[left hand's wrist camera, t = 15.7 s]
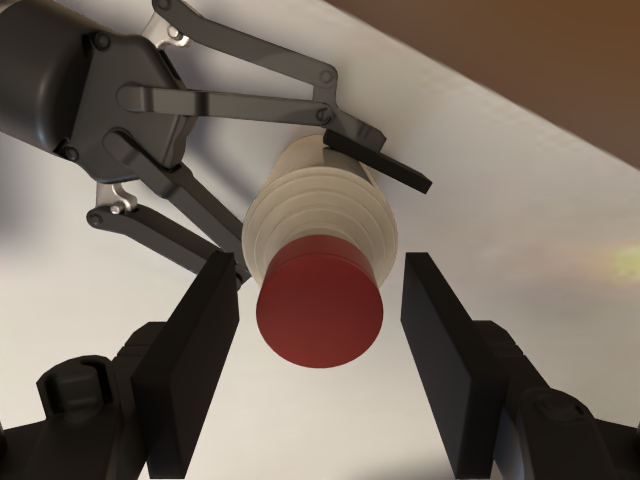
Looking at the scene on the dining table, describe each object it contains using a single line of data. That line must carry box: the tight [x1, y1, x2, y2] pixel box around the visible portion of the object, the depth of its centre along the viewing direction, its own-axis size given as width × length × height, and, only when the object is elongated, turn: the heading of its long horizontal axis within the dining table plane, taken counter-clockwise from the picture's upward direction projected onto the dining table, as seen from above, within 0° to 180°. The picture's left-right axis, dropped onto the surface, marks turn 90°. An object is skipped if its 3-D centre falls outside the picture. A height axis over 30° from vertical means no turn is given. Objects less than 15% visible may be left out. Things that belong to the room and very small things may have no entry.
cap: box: [256, 234, 383, 368], centre depth 14 cm, size 4×4×2 cm
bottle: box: [242, 134, 398, 289], centre depth 22 cm, size 7×7×19 cm
